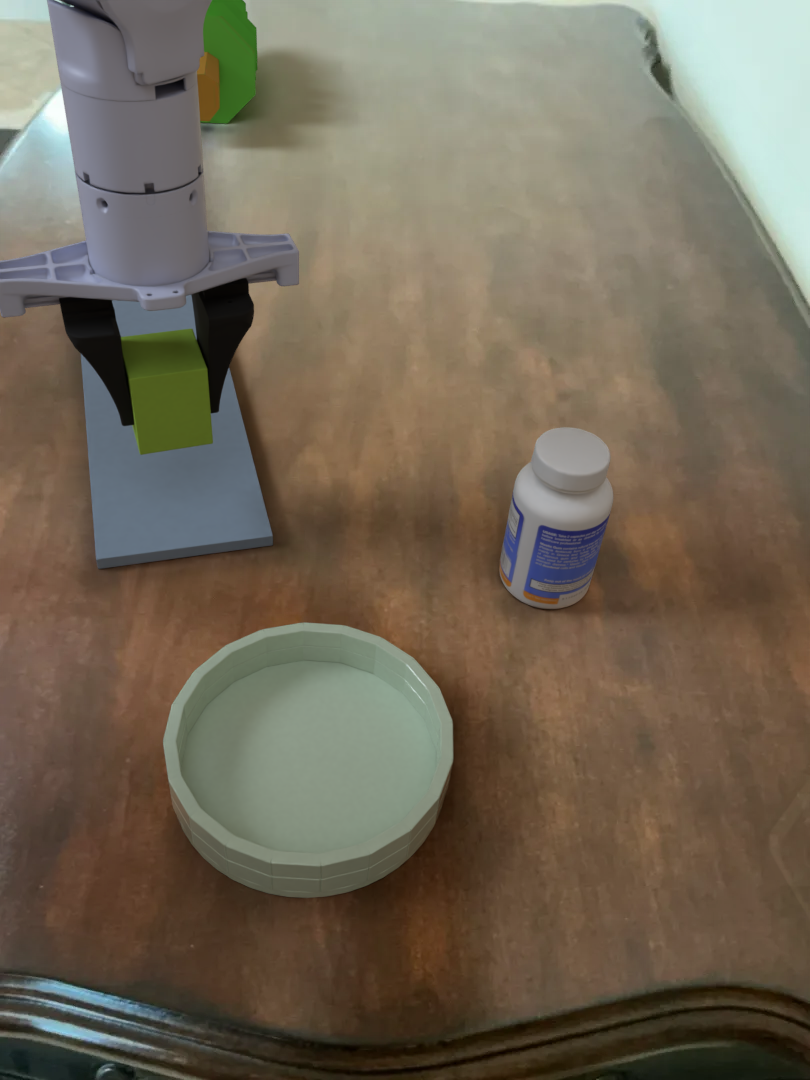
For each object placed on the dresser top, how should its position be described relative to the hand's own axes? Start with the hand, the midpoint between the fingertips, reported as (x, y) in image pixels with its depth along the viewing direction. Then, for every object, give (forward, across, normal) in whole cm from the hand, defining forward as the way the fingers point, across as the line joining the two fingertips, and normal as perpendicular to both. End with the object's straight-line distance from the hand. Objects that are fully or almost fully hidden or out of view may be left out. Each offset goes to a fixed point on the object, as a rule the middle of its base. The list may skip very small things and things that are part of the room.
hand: (167, 409), depth 54 cm
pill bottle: (+8, +19, -11) cm, 24 cm away
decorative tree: (+8, +16, +66) cm, 69 cm away
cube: (+1, 0, 0) cm, 1 cm away
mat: (+8, +1, +14) cm, 16 cm away
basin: (+8, +3, -20) cm, 21 cm away
